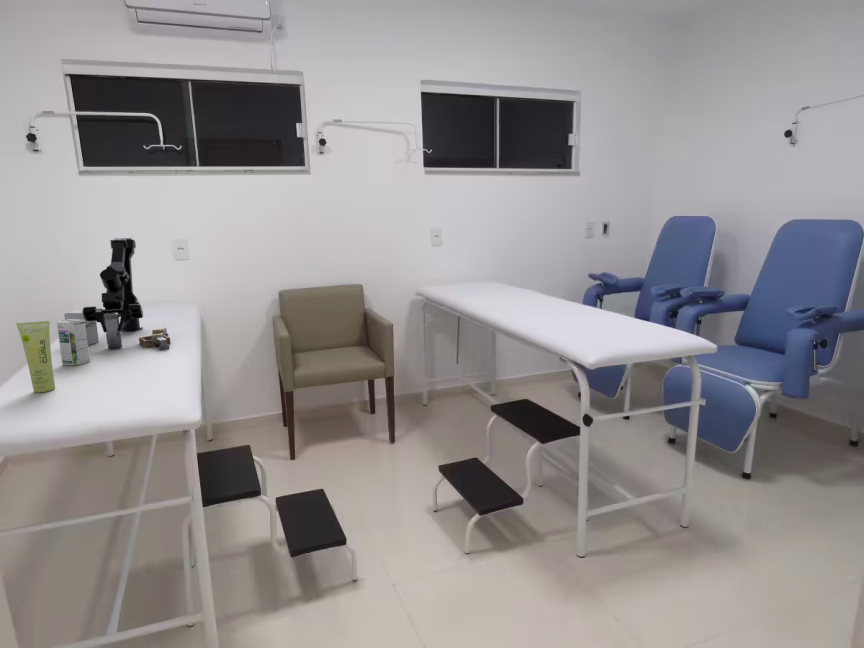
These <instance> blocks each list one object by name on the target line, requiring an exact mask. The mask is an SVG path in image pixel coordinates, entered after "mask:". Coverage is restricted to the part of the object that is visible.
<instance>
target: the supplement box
mask: <svg viewBox="0 0 864 648" xmlns="http://www.w3.org/2000/svg"><path fill="white" fill-rule="evenodd" d="M82 312H83V309H77V310H76V309H75V310H73V311H68V312H65V313H64V320H67V319H75V320H85V326H86V334H87V342H88V346H90V345H93V344H95V343H98V342H100V341H99V332H98V324H97V323H98V322H97V321H86V319H85V317H84V315H83V313H82Z"/></svg>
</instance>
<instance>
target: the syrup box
mask: <svg viewBox="0 0 864 648" xmlns="http://www.w3.org/2000/svg"><path fill="white" fill-rule="evenodd" d="M56 326H57V327H56V328H57V329H56V330H57V334H58V342H59V349H60V356H61V357H60V358H61V364H62V366H74V367H77V366H80V365H83V364H86V363H90V361H91V360H90V359H91V358H90V352H89V345H88V342H87V334H86V326H85V320H75V319H67V320H65V319H63V320H59V321H56Z"/></svg>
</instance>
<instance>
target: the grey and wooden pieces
mask: <svg viewBox="0 0 864 648" xmlns="http://www.w3.org/2000/svg"><path fill="white" fill-rule="evenodd" d="M151 331H152V334H151V335H150V336H151V337H152V346H154V348H155V347H156V348H155V349H157V350H158V349H159V350H158V351H163V349H164V350H169V349H170V346H169V345H170V344H167V339H165V338H164V335H166V336H168V337H169V333H168V332H167V327H160V328H158V329H156V328H154V329H152V330H151ZM163 334H164V335H163Z"/></svg>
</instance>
